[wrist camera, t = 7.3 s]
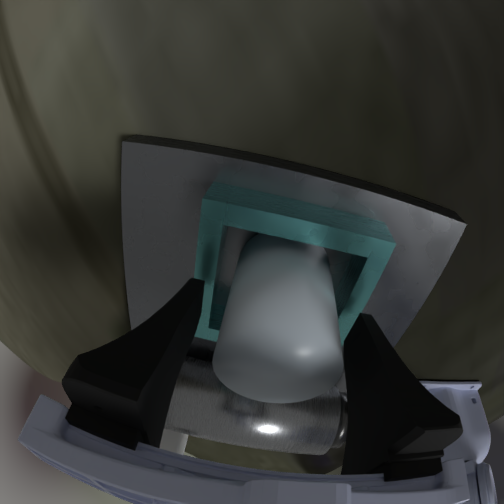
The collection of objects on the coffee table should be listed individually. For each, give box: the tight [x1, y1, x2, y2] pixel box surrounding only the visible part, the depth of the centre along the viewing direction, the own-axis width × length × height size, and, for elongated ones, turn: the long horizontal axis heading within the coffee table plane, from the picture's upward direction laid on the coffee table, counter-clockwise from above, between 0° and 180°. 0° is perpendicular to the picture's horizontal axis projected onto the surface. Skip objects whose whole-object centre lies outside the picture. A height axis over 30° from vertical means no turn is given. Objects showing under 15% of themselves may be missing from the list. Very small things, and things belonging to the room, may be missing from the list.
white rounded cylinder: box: [212, 233, 343, 403], centre depth 13 cm, size 5×5×6 cm
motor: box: [121, 135, 467, 455], centre depth 17 cm, size 18×20×7 cm
